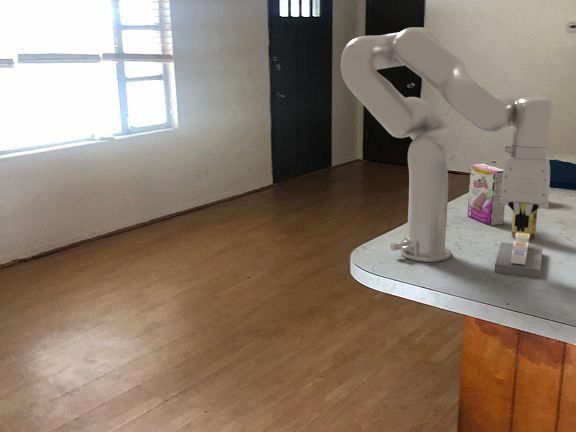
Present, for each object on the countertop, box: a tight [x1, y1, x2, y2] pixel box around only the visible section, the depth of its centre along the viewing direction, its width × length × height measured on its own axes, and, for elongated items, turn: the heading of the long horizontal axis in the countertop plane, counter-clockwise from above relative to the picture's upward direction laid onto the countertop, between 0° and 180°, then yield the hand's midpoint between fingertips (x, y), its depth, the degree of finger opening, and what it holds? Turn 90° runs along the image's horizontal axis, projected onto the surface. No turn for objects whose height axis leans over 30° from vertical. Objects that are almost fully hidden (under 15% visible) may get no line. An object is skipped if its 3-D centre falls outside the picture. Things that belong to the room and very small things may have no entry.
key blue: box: [511, 251, 527, 266], centre depth 145 cm, size 3×3×4 cm
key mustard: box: [514, 233, 530, 244], centre depth 155 cm, size 3×3×4 cm
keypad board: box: [493, 241, 544, 278], centre depth 151 cm, size 17×10×2 cm, turn 157°
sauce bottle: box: [511, 203, 539, 240], centre depth 167 cm, size 7×6×20 cm
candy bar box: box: [466, 163, 506, 227], centre depth 183 cm, size 11×5×16 cm, turn 22°
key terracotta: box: [513, 241, 529, 255], centre depth 148 cm, size 3×3×4 cm
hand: (520, 229), depth 144 cm, fingers closed
